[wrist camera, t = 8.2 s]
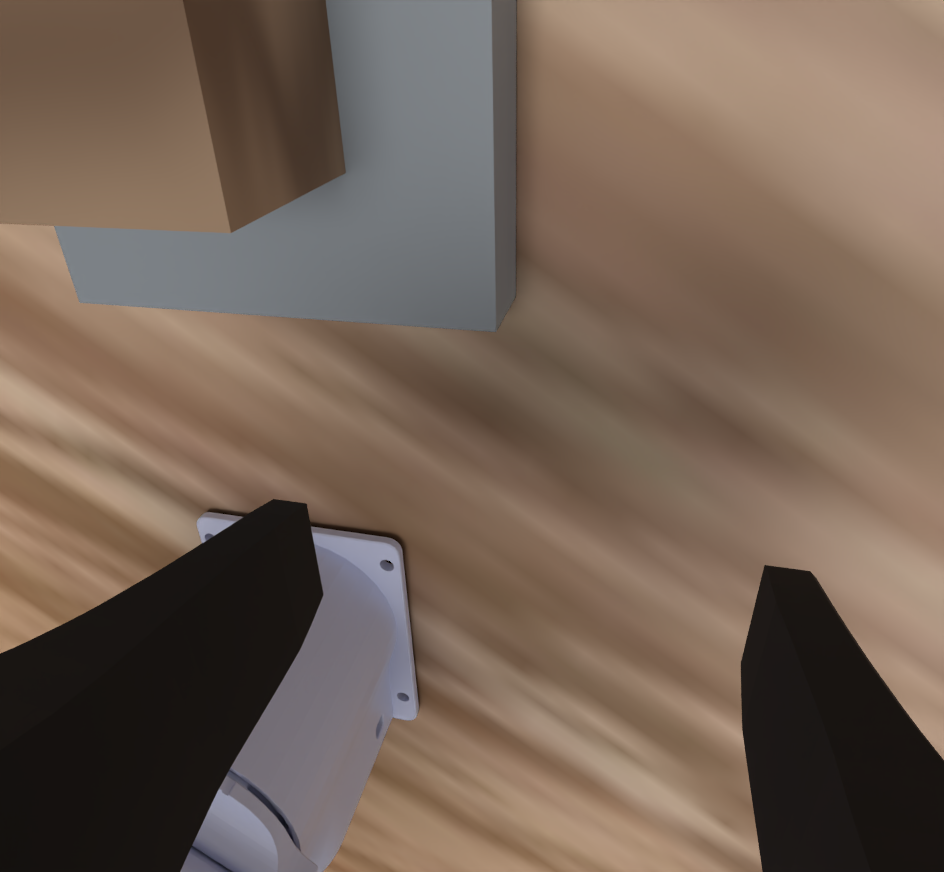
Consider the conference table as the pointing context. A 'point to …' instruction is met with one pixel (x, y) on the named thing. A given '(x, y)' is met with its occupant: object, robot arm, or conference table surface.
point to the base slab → (364, 191)
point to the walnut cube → (164, 111)
